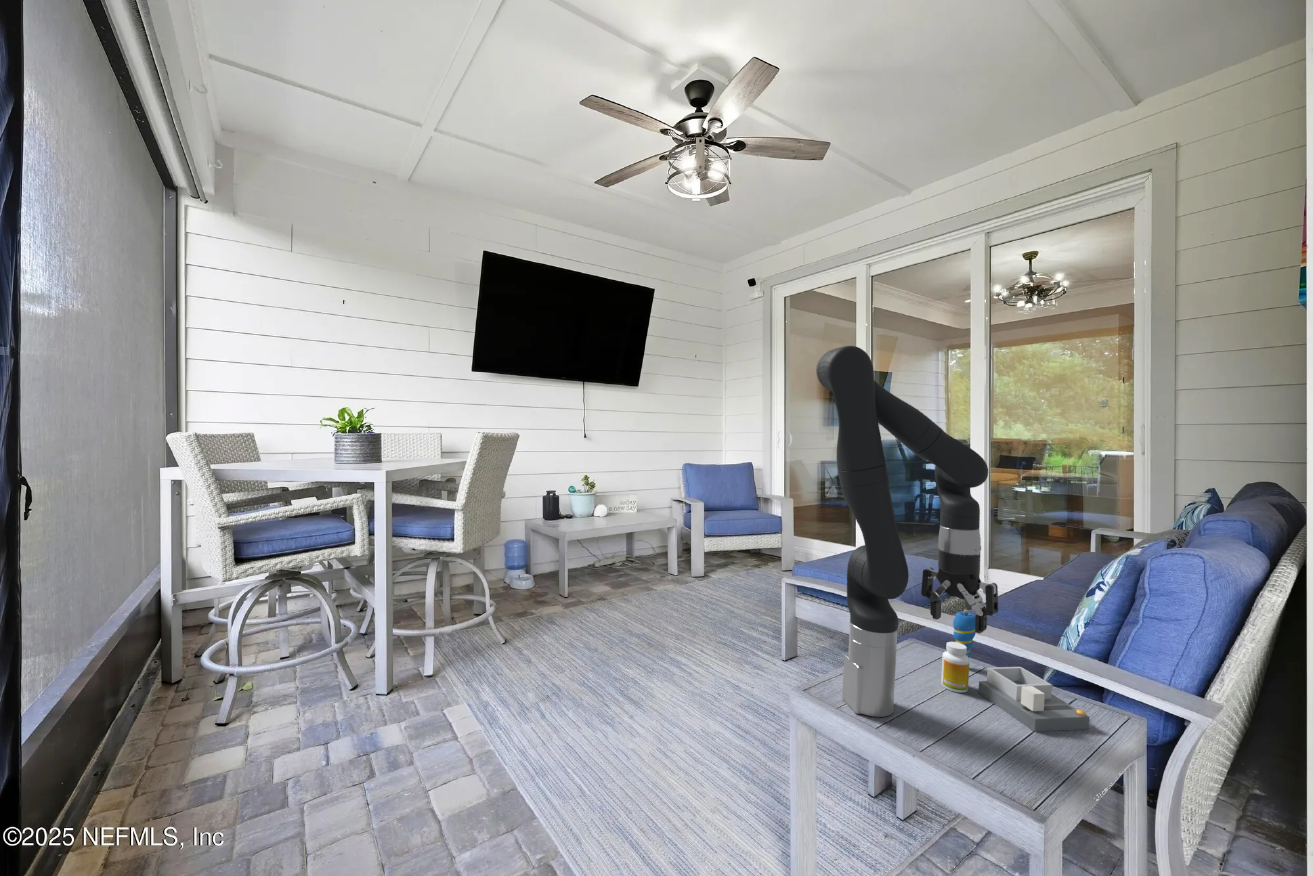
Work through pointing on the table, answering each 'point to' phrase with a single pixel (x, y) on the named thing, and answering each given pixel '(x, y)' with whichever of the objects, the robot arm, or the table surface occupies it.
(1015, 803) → the table surface
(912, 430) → the robot arm
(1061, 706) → the breaker panel
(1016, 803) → the table surface
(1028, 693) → the breaker handle
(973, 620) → the ornament
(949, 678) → the supplement bottle
